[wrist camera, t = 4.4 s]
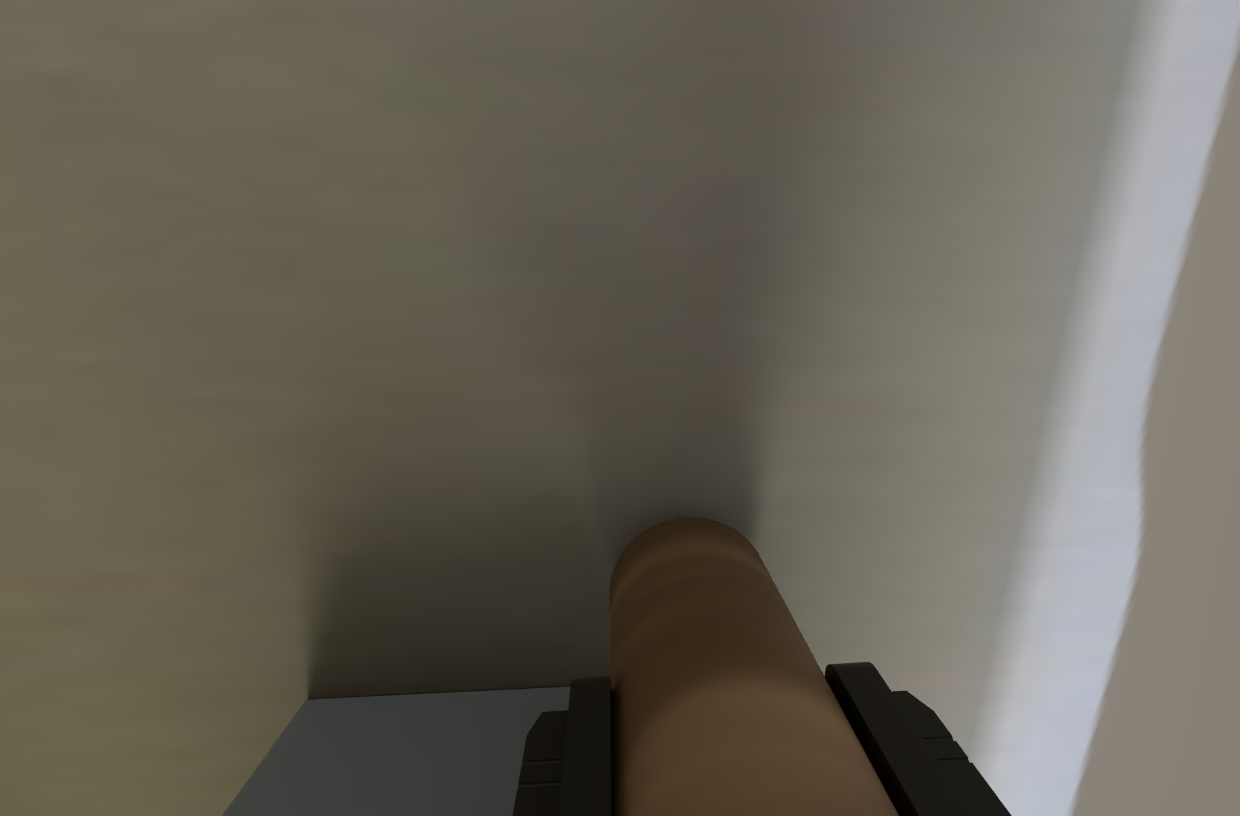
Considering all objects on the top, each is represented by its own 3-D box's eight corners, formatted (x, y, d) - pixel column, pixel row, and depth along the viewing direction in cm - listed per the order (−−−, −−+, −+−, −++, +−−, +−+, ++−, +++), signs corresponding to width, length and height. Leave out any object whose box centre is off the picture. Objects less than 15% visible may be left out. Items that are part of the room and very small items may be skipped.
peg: (604, 522, 14) (585, 1578, 3) (767, 512, 14) (1439, 1519, 3) (614, 666, 15) (629, 1926, 4) (767, 657, 15) (1277, 1882, 4)
